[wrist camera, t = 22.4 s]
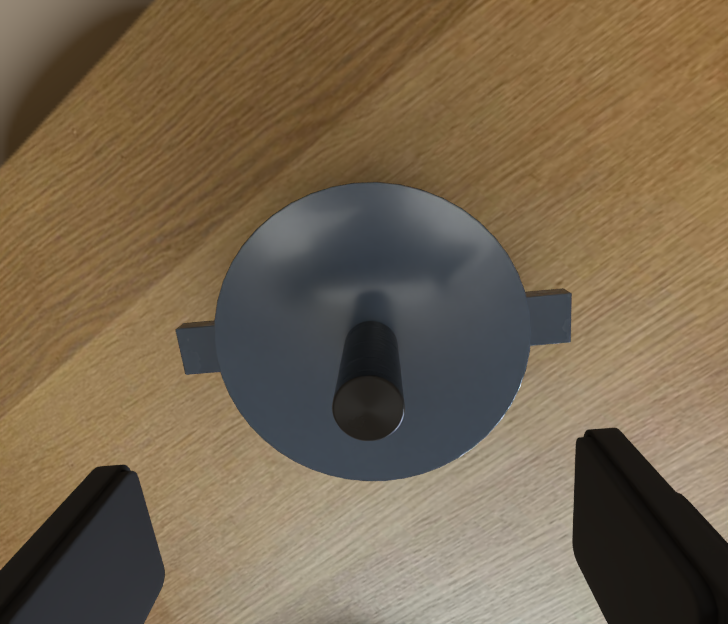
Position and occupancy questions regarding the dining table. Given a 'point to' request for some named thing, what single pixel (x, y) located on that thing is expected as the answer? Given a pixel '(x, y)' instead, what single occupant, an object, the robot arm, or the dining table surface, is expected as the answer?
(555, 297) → the pot
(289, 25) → the dining table surface
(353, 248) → the lid
